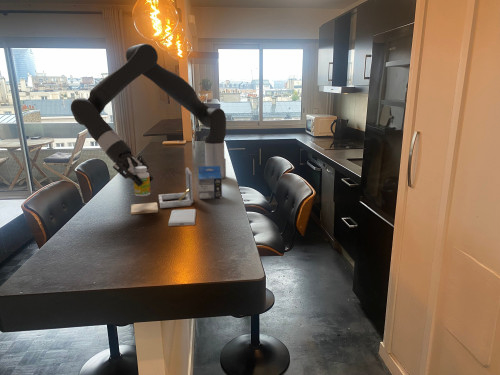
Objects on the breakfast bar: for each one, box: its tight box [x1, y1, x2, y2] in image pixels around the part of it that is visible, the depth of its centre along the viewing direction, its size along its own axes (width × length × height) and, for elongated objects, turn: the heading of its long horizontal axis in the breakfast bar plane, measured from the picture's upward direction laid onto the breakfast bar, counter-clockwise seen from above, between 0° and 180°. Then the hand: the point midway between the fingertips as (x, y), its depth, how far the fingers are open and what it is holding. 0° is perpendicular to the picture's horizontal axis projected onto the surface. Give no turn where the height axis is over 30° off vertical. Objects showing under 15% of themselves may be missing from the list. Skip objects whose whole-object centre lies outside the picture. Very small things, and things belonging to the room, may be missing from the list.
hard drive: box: [168, 208, 197, 227], centre depth 115 cm, size 2×8×12 cm
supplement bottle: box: [133, 165, 151, 197], centre depth 122 cm, size 5×5×10 cm
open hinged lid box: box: [158, 167, 194, 209], centre depth 131 cm, size 12×11×12 cm
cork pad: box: [130, 201, 159, 215], centre depth 124 cm, size 9×9×1 cm
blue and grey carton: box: [197, 165, 223, 200], centre depth 137 cm, size 9×4×12 cm, turn 99°
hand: (146, 182), depth 121 cm, fingers closed on supplement bottle, 5 cm apart
